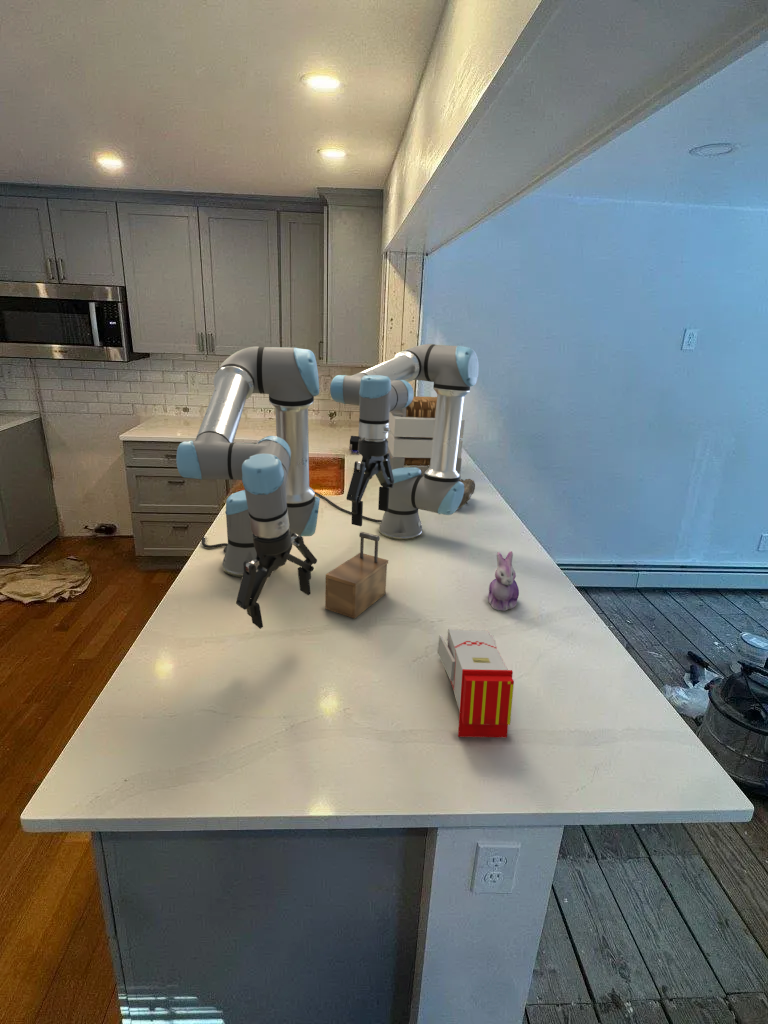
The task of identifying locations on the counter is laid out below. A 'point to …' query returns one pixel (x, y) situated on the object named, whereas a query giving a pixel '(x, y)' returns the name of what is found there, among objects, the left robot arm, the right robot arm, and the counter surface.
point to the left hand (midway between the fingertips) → (282, 608)
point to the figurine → (503, 584)
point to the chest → (355, 594)
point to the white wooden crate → (415, 434)
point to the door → (359, 564)
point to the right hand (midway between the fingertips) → (370, 517)
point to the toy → (478, 682)
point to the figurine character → (354, 444)
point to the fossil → (467, 491)
